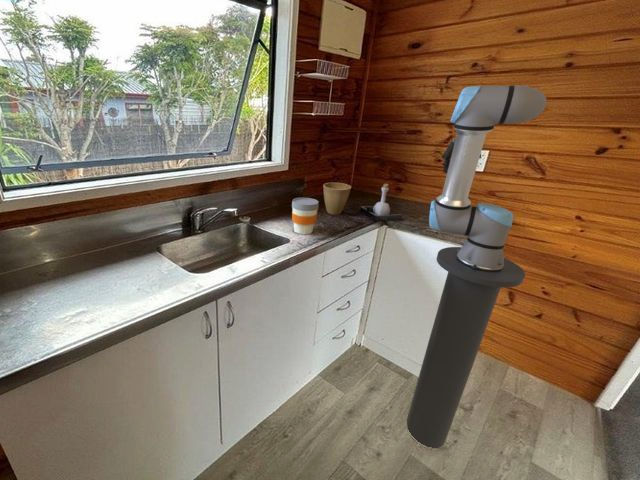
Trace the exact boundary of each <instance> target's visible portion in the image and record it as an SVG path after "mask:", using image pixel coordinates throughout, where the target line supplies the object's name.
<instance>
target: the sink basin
mask: <svg viewBox="0 0 640 480" xmlns="http://www.w3.org/2000/svg"><path fill="white" fill-rule="evenodd" d="M374 206H375V205H364V206H360V211H359V212H360V213H362V214H364V215H365V216H366V217H368V218H369V219H370V220H373V221H374V222H381V221H382V222H383V221H401V220H402V219H403V214H402V213H399V214H397V213H396V214H388V215H375V213H374V212H373V208H374ZM372 217H373V218H372ZM374 218H375V219H374Z"/></svg>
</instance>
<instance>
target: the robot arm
mask: <svg viewBox="0 0 640 480" xmlns="http://www.w3.org/2000/svg"><path fill="white" fill-rule="evenodd" d="M546 106H547V97H546V95H545V93H543V92H542V91H541V90H539V89H538V88H535V87H531V86H527V85H520V84H519V85H517V84H515V85H514V84H513V85H471V86H466V87H464V88H463V89H461V92H460V94H459V97H458V99H457V102H456V105H455V107H454V108H453V112H452V115H451V118H450V123H452V124H453V128H452V129H454V131H455V132H456V136H455V138H451V140H450V142H449V144H448V146H447V147H446V149H445V150H444V152H443V153H442V155H441V159H443V160H444V162H443V170H442V173H443V174H446V176H445V180H444V185H443V188H442V192H441V193H440V194H439V195H437V196H436V199H434V200H431V201H430V208H429V216H428V217H429V218H428V225H429V228H430V229H432V230H434V231H435V230H436V231H439V232H445V233H451V234H455V235H462V236H467V239H466V241H465V243H464V244H463V245H462V246H461V247H462V248H461V249H457V251H459V252H458V253H457V257H456V258H457V260H458V261H459V262H460V263H462V264H464V265H466V266H468V267H470V268H472V269H473V270H475V269H477V270H481V271H486V272H499V271H501V270H502V269H503V266H504V258H505V257H504V247H505V244H506V241H507V239H508V236H509V233H510V231H511V228H512V226H513V221H514V213H512V211H510V210H509V209H507V208H504V207H502V206H499V205H495V204H491V203H486V202H485V203H484V202H479V203H477V204H476V206H475V205H474V206H473V205H471V204H472V201H471V200H470V199H469V196H470V191H471V188H472V185H473V182H474V178H475V174H476V171H477V167H478V164H479V160H480V159H481V158H482V151H483V147H484V143H485V140H486V137H487V135H488V134H489V133H491V132H492V131H493V130H495V129H494V128H495V125H513V124H520V123H521V124H522V123H525V122H528V121H531V120H533V119H535V118H537V117H539V115H541V114H542V113H543V112H544V110H545V108H546Z"/></svg>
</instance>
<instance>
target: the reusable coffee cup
mask: <svg viewBox="0 0 640 480" xmlns="http://www.w3.org/2000/svg"><path fill="white" fill-rule="evenodd" d="M291 208H292V211H291V217H292V218H291V219H292V222H293V223H292V224H293V231H294V233H296V234H300V235H310V234H312V233H313V231H314V226H315V223H316V221H317V218H318V210H319V209H320V207H319V200H317V199H315V198H311V197H295V198H293V199H292V201H291ZM310 231H311V232H310Z"/></svg>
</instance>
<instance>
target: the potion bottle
mask: <svg viewBox="0 0 640 480" xmlns="http://www.w3.org/2000/svg"><path fill="white" fill-rule="evenodd" d="M389 189H390V188H389V183H384V184H383V185H382V187H381V198H380V201H378V202H376V203H375V204H374V205H373V206H374V208H373V211H372V213H373V214H375V215H390V213H391V208H390V205H389V203H387V202H386V200H387V199H386V198H387V193H388V192H389V191H390V190H389Z"/></svg>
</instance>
